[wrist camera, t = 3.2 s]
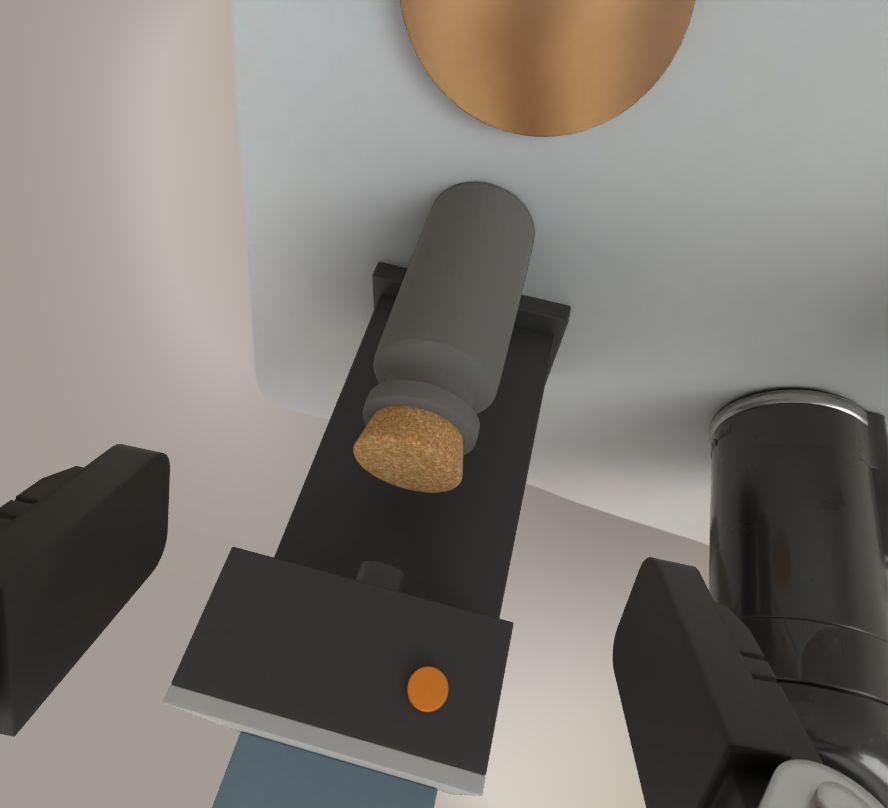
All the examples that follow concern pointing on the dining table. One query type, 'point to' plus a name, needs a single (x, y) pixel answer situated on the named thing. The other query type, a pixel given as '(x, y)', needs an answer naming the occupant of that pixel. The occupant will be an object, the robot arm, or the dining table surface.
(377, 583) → the coffee maker
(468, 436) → the bottle
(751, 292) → the dining table surface
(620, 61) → the disc
